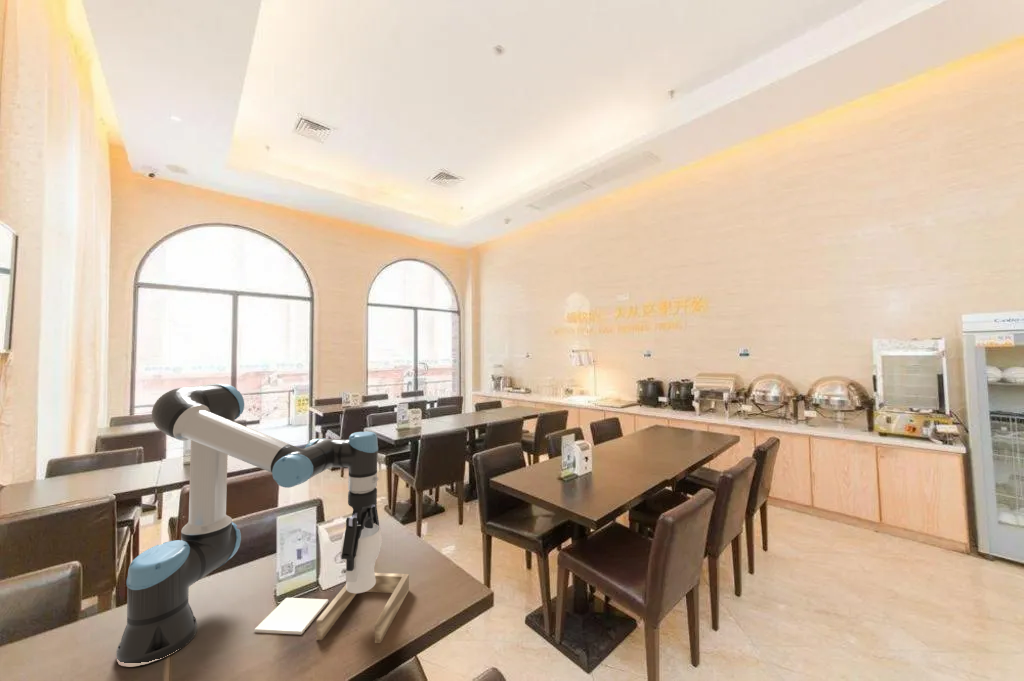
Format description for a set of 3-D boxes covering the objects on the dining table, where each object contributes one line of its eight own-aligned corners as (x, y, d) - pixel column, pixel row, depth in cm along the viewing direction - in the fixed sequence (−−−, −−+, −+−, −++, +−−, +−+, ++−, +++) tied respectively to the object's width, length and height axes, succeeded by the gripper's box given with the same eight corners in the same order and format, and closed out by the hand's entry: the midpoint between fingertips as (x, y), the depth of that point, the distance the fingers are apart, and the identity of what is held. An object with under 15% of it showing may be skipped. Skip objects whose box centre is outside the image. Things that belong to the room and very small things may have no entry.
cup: (367, 599, 101) (368, 542, 102) (331, 594, 104) (332, 537, 104) (388, 576, 112) (389, 524, 112) (355, 571, 114) (356, 520, 114)
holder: (316, 639, 100) (316, 620, 100) (355, 588, 122) (355, 572, 122) (380, 643, 99) (380, 623, 99) (408, 590, 120) (408, 574, 120)
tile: (254, 632, 103) (254, 629, 103) (286, 600, 116) (286, 597, 116) (301, 634, 102) (301, 631, 102) (328, 602, 115) (328, 599, 115)
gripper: (356, 506, 96) (354, 596, 96) (391, 475, 119) (390, 548, 119) (327, 505, 97) (325, 594, 97) (367, 474, 120) (366, 546, 120)
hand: (361, 568), depth 108 cm, fingers closed on cup, 10 cm apart
